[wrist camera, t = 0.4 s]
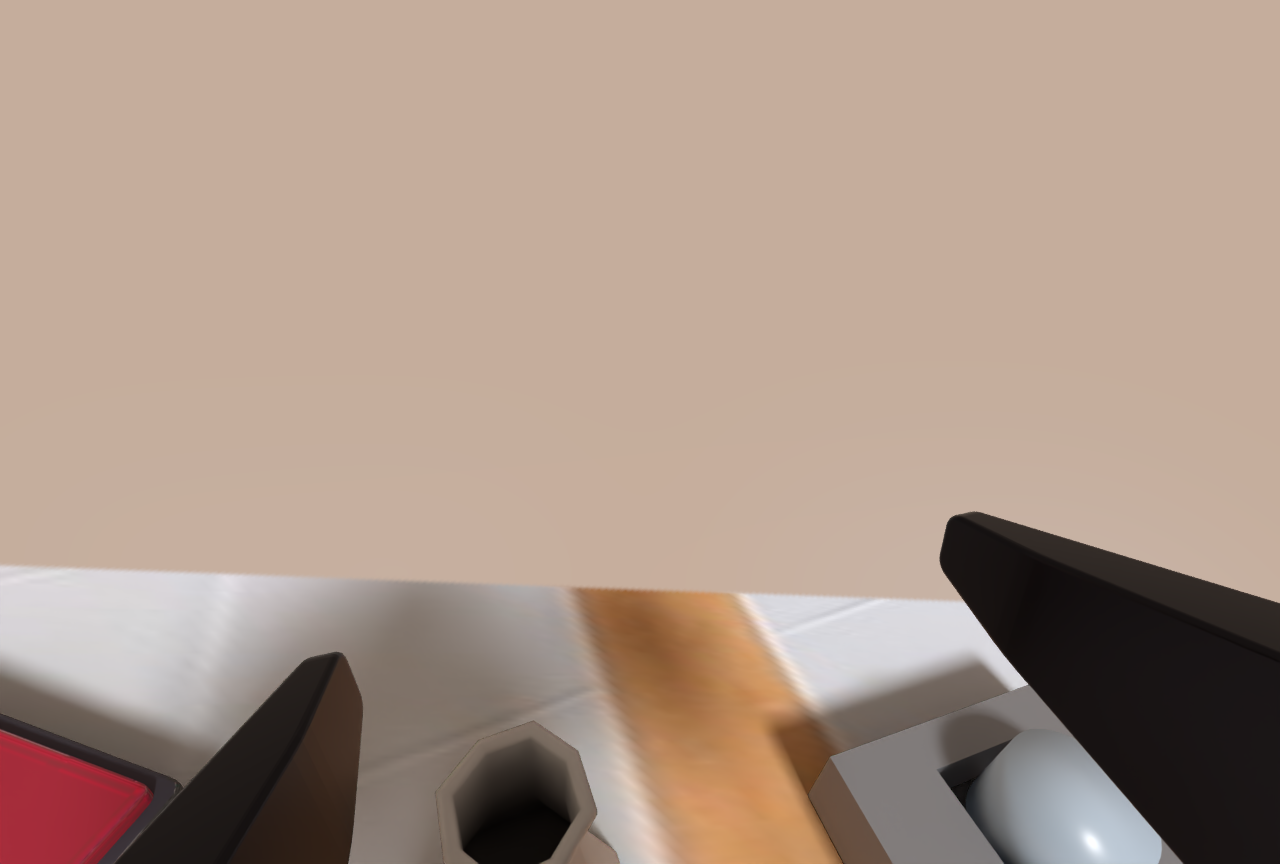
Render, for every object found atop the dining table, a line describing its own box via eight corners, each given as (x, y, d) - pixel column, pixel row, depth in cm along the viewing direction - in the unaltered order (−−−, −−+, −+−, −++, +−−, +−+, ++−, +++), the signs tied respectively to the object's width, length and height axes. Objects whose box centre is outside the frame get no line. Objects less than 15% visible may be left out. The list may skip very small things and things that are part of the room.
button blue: (1130, 886, 18) (1193, 847, 17) (1041, 937, 17) (1099, 901, 15) (1022, 758, 22) (1065, 714, 20) (940, 793, 20) (978, 749, 18)
